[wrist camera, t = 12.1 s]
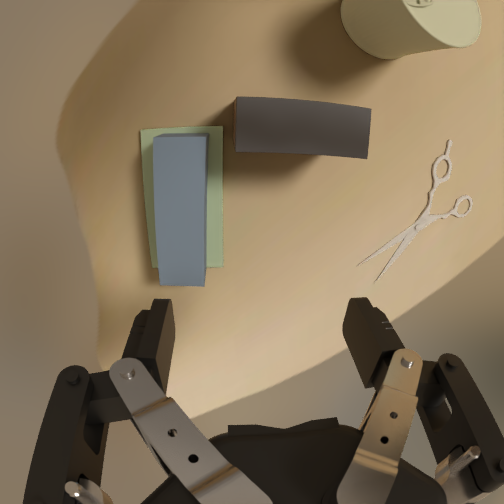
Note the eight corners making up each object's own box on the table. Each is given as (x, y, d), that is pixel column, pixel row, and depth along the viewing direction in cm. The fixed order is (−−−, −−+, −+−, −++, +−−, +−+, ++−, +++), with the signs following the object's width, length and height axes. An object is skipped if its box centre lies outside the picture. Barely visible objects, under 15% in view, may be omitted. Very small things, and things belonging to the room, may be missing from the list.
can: (324, -4, 22) (372, -50, 11) (389, -19, 21) (451, -52, 10) (365, 69, 26) (434, 58, 15) (426, 49, 24) (499, 40, 14)
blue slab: (163, 133, 27) (153, 137, 23) (209, 133, 27) (206, 136, 23) (166, 263, 33) (159, 285, 29) (206, 264, 33) (204, 286, 30)
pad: (142, 129, 27) (140, 129, 26) (223, 125, 28) (222, 126, 27) (153, 265, 34) (152, 267, 33) (223, 264, 34) (223, 267, 34)
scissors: (480, 198, 33) (385, 299, 38) (477, 196, 34) (383, 295, 39) (450, 138, 29) (341, 252, 34) (446, 137, 30) (339, 249, 35)
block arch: (233, 101, 27) (236, 96, 19) (334, 107, 28) (371, 108, 20) (233, 140, 28) (235, 151, 21) (332, 145, 29) (367, 159, 22)
